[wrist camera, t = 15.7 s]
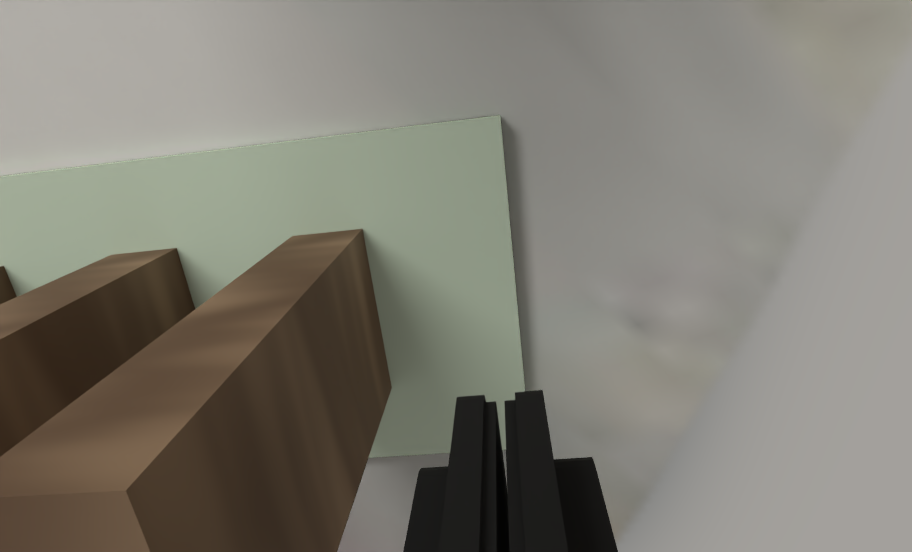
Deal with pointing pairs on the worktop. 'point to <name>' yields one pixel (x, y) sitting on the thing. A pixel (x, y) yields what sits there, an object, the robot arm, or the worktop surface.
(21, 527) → the domino
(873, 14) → the worktop surface
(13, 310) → the domino
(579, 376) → the worktop surface
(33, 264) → the mat
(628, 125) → the worktop surface
